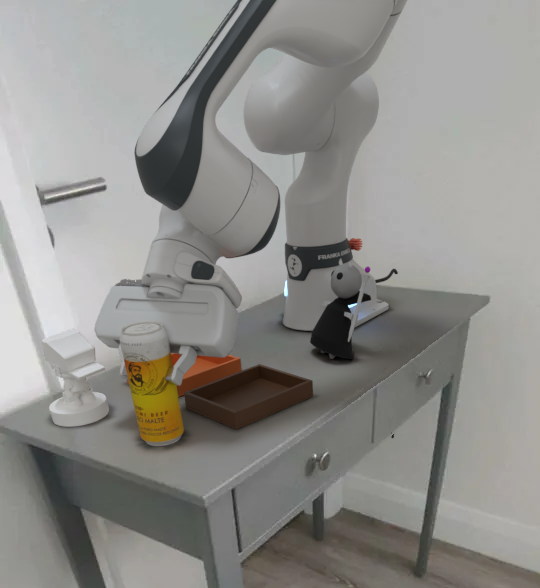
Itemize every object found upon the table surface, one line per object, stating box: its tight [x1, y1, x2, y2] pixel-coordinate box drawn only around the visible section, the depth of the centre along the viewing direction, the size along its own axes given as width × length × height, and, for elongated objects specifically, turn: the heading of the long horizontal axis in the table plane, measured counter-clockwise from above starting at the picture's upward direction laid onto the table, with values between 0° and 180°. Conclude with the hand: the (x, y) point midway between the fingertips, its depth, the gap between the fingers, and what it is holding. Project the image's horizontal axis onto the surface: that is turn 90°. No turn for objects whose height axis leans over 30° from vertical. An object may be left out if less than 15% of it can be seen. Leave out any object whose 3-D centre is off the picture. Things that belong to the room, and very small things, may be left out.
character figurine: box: [41, 328, 110, 428], centre depth 95 cm, size 9×10×12 cm
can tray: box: [126, 353, 243, 398], centre depth 108 cm, size 15×12×2 cm
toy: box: [309, 258, 371, 360], centre depth 108 cm, size 12×7×15 cm, turn 22°
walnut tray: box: [183, 363, 314, 430], centre depth 97 cm, size 15×12×2 cm
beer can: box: [120, 321, 185, 447], centre depth 85 cm, size 6×6×15 cm
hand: (149, 380), depth 84 cm, fingers closed on beer can, 6 cm apart
